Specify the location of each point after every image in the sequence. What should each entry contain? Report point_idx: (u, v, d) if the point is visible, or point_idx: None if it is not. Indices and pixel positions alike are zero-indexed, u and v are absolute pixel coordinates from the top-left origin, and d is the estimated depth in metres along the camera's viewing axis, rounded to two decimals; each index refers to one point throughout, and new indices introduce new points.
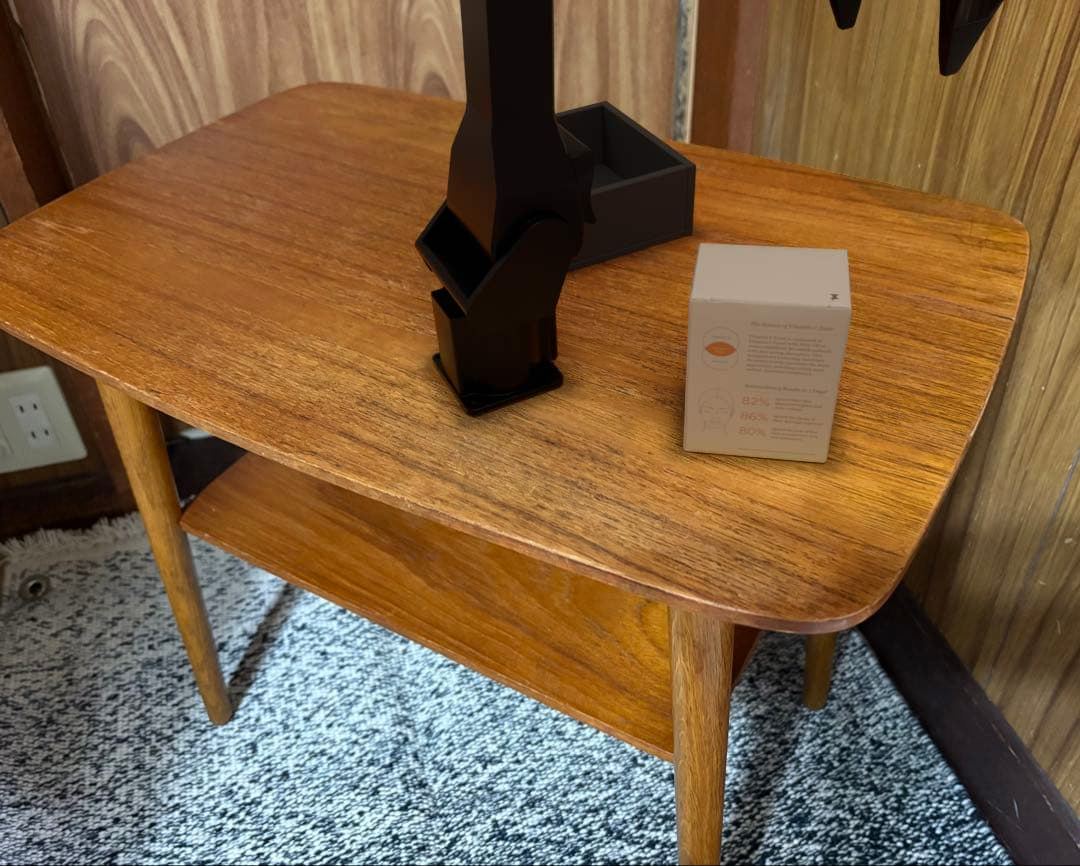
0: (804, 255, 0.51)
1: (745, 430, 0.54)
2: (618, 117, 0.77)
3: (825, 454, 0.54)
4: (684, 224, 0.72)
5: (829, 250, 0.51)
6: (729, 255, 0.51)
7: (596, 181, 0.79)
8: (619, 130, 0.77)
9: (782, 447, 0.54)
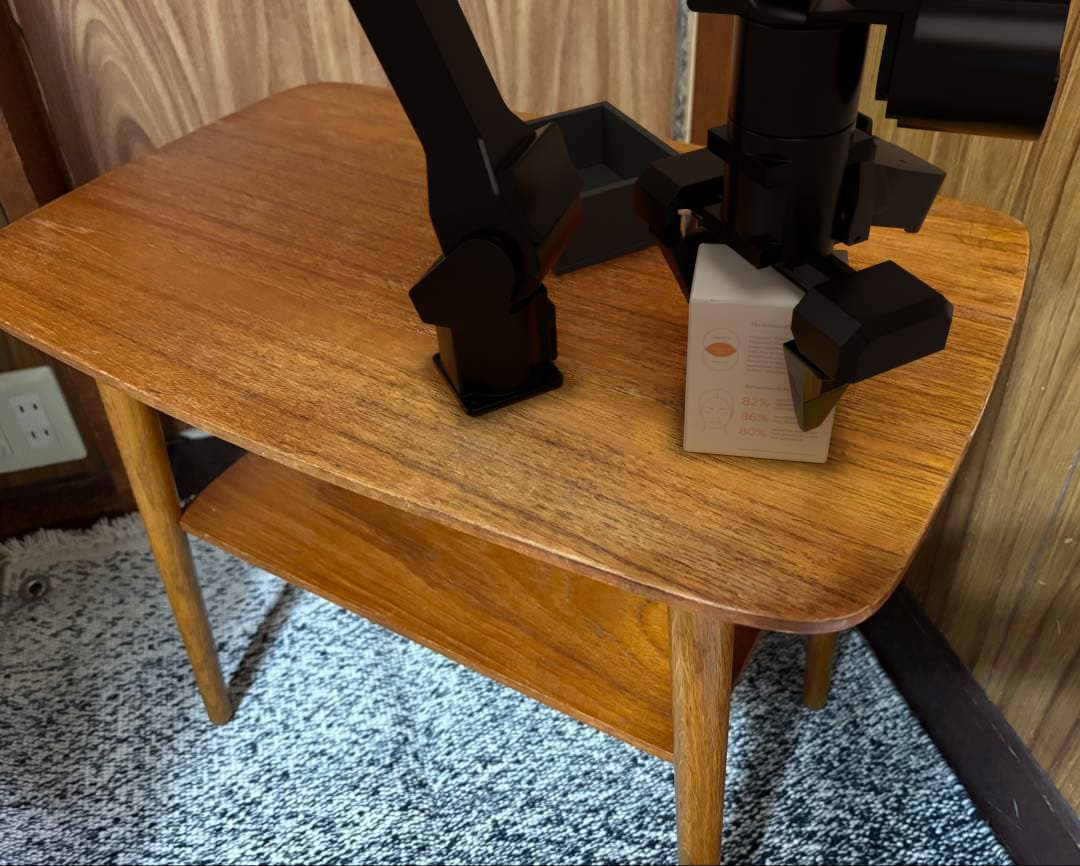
0: None
1: (745, 430, 0.54)
2: (618, 117, 0.77)
3: (825, 454, 0.54)
4: None
5: None
6: (729, 256, 0.51)
7: (596, 181, 0.79)
8: (619, 130, 0.77)
9: (782, 448, 0.54)
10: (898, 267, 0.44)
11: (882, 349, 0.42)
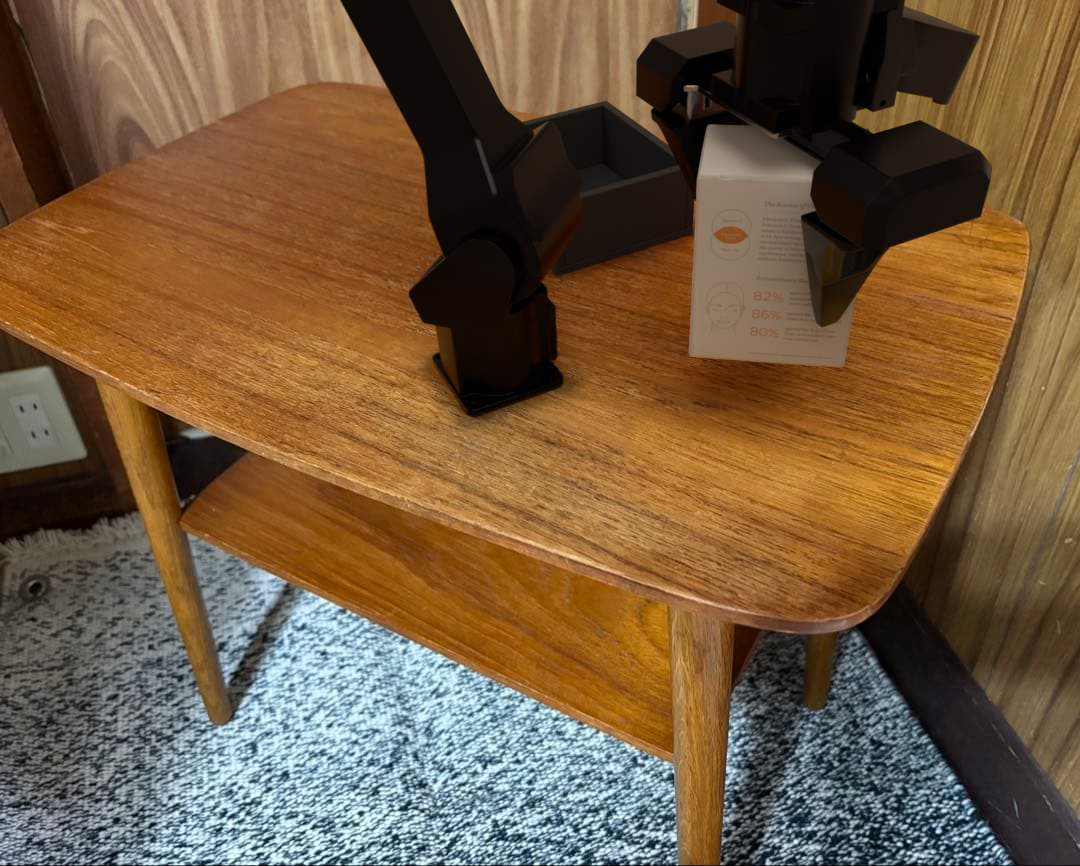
0: None
1: (756, 331, 0.49)
2: (618, 117, 0.77)
3: (843, 357, 0.49)
4: (684, 224, 0.72)
5: None
6: (740, 135, 0.47)
7: (596, 181, 0.79)
8: (619, 130, 0.77)
9: (797, 350, 0.50)
10: (929, 126, 0.40)
11: (914, 210, 0.38)
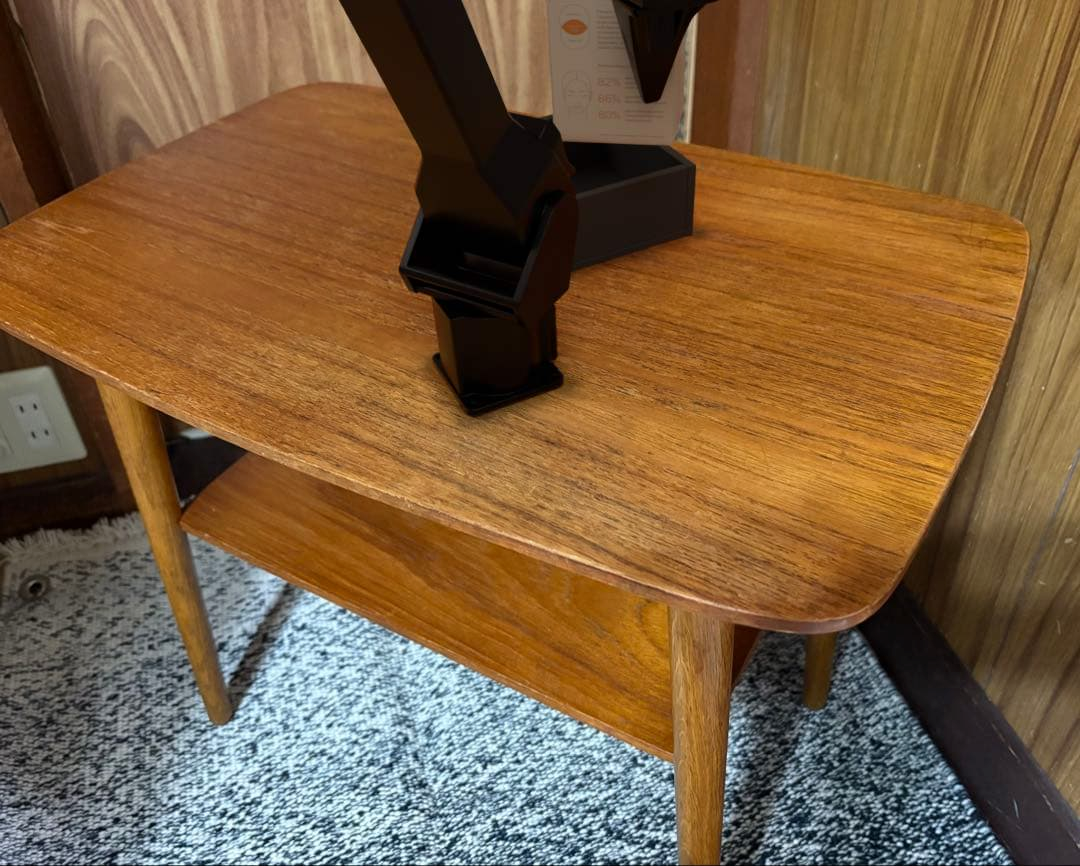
0: None
1: (603, 114, 0.62)
2: None
3: (672, 136, 0.62)
4: (684, 224, 0.72)
5: None
6: None
7: (596, 181, 0.79)
8: None
9: (636, 131, 0.62)
10: None
11: None
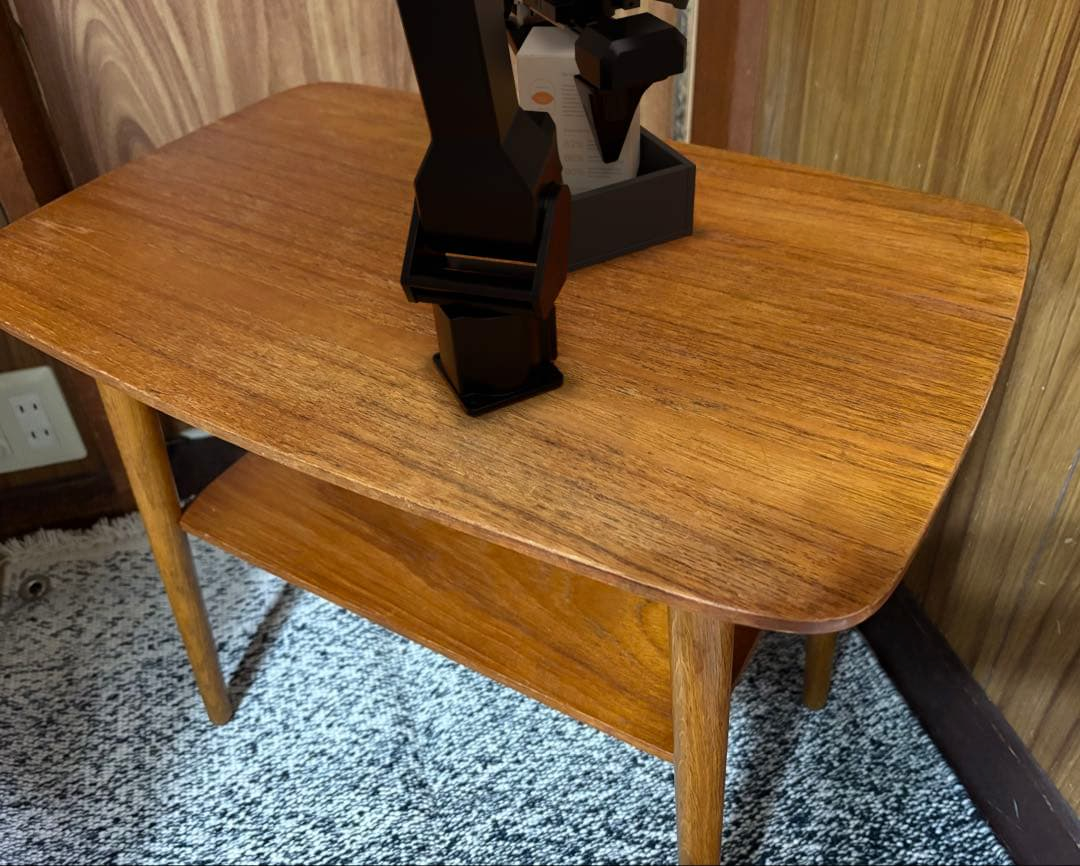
0: None
1: (569, 171, 0.71)
2: None
3: None
4: (684, 224, 0.72)
5: None
6: (551, 32, 0.69)
7: None
8: None
9: (598, 185, 0.71)
10: (651, 15, 0.62)
11: (631, 63, 0.60)
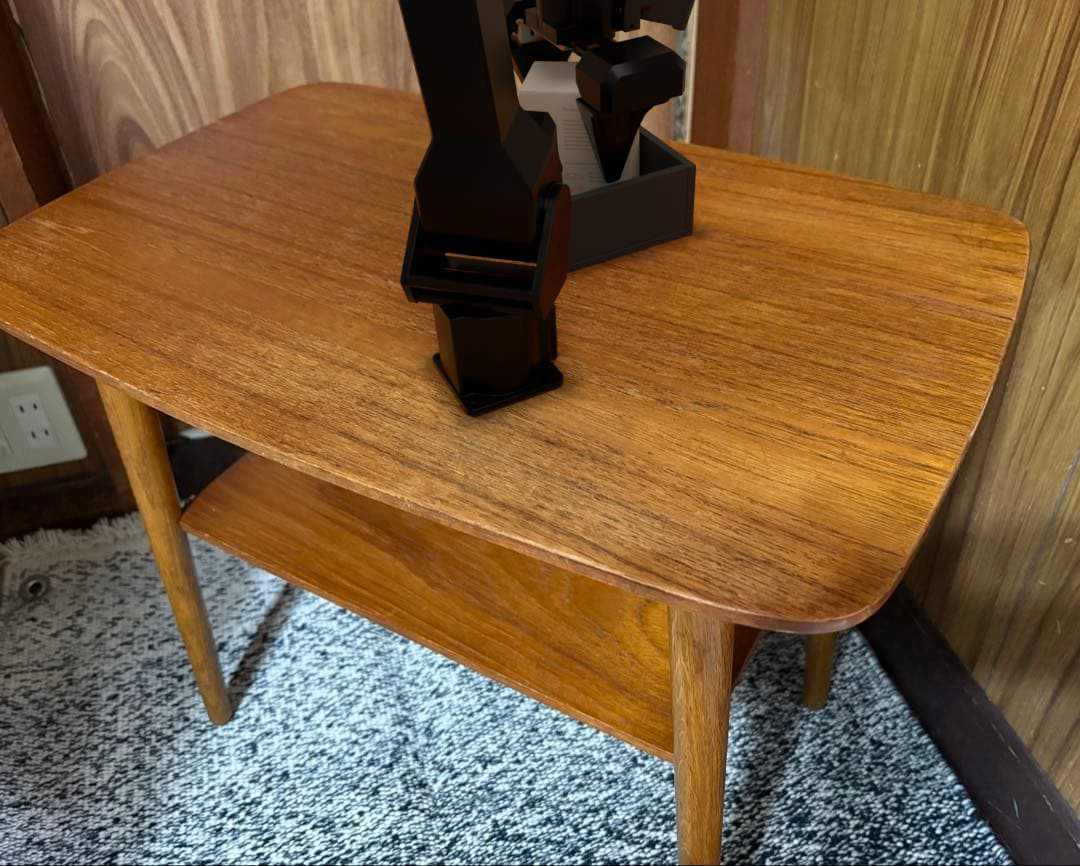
0: None
1: None
2: None
3: None
4: (684, 224, 0.72)
5: None
6: (552, 67, 0.70)
7: None
8: None
9: None
10: (651, 38, 0.63)
11: (630, 87, 0.61)
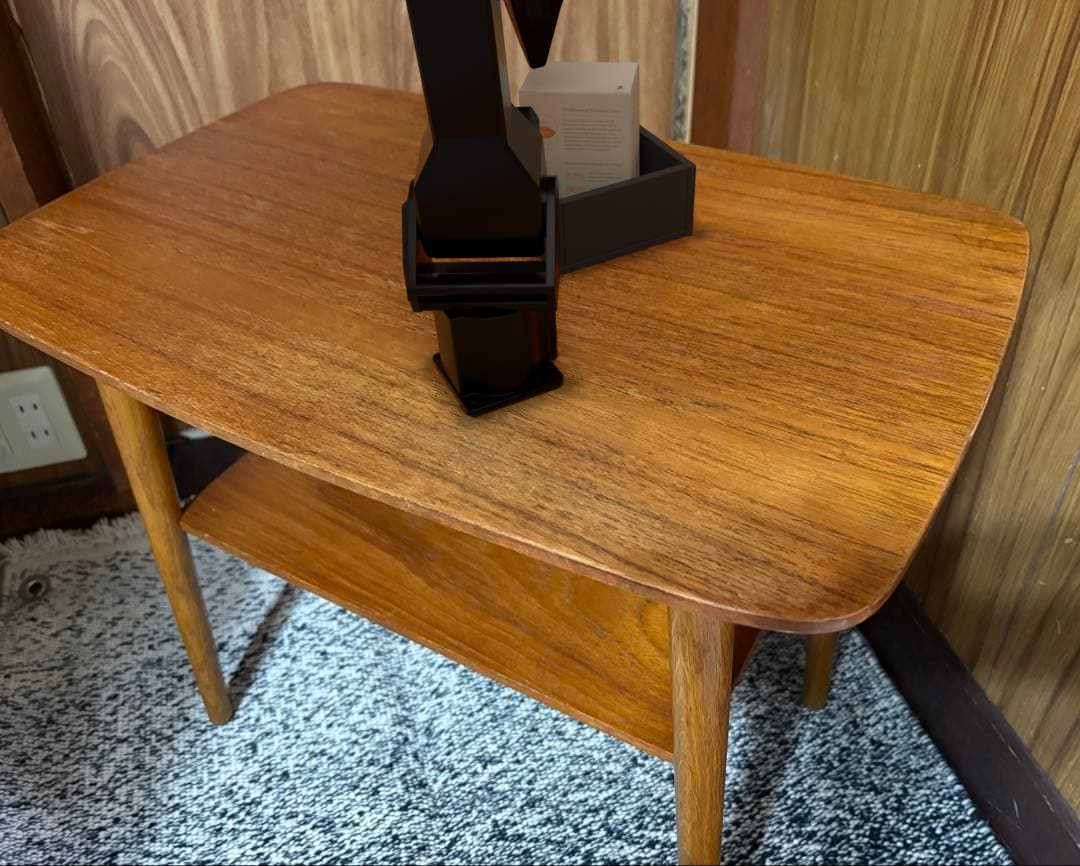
0: (606, 65, 0.70)
1: None
2: None
3: None
4: (684, 224, 0.72)
5: (625, 63, 0.70)
6: (553, 67, 0.70)
7: None
8: None
9: None
10: None
11: None
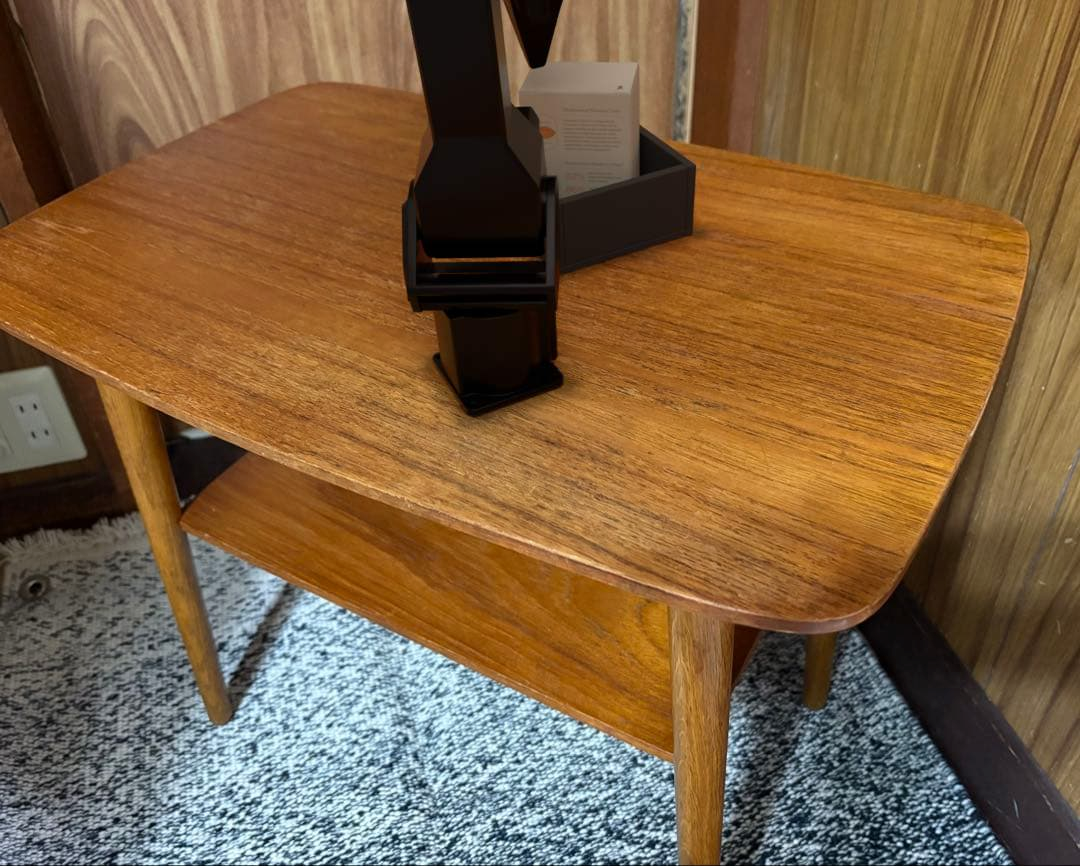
0: (606, 65, 0.70)
1: None
2: None
3: None
4: (684, 224, 0.72)
5: (625, 63, 0.70)
6: (553, 67, 0.70)
7: None
8: None
9: None
10: None
11: None
